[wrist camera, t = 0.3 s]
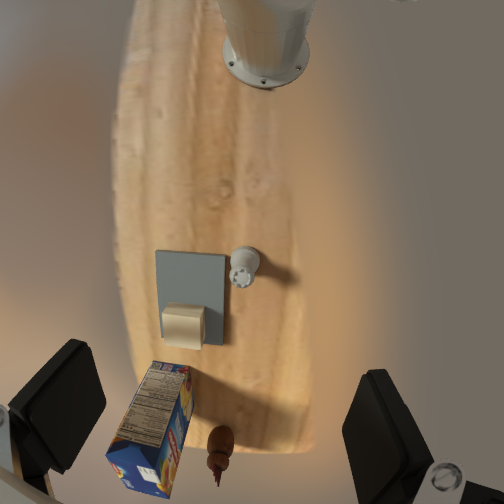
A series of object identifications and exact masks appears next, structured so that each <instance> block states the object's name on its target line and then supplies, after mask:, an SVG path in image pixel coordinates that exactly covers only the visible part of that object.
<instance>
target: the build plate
mask: <svg viewBox="0 0 504 504" xmlns="http://www.w3.org/2000/svg"><path fill="white" fill-rule="evenodd" d="M155 255H156V276H157V292H158V305H159V317H160V327H161V337H162V338H164V332H163V321H162V312H163V311H164V309H165V308H166V306H167V305H168V303H169V302H175V303H183V304H193V305H202V306H205V339H204V342H203V343H204V344H213V345H223V334H224V294H225V264H226V255H223V254H210V253H196V252H183V251H170V250H156V251H155Z"/></svg>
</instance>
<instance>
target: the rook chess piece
mask: <svg viewBox="0 0 504 504" xmlns="http://www.w3.org/2000/svg"><path fill="white" fill-rule="evenodd" d="M230 263H231V267H232V270H231V271H230V275H229V277H230V281H231V282H232V283H233V285H235V286H236V287H240V288H245V287H248V286H250V285H251V284H252V283H253V281H254V278H255V275H254V273H255V272H256V270H257V269H258V267H259V263H260V257H259V254H258V253H257V251H256V250H255V249H253V248H252V247H248V246H242V247H238V248H237V249H235V250H234V252H233V253H232V254H231V259H230Z"/></svg>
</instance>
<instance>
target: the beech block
mask: <svg viewBox="0 0 504 504" xmlns="http://www.w3.org/2000/svg"><path fill="white" fill-rule="evenodd" d="M162 321H163V332H164V341H165V345H167V346H174V347H181V348H188V349H196V350H201V348H202V345H203V342H204V339H205V306H202V305H193V304H183V303H175V302H169V303H168V305H167V306H166V308H165V309H164V311H163V312H162Z"/></svg>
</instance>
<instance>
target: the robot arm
mask: <svg viewBox="0 0 504 504" xmlns="http://www.w3.org/2000/svg"><path fill="white" fill-rule="evenodd" d="M217 1H218V4H219V7H220V10H221V14H222V17H223V20H224V24H225V27H226V30H227V34H228V35H227V37H226V39H225V41H224V45H223V58H224V62H225V64H226V67H227V68H228V70H229V71H230V73H231V74H232V75H233V76H234V77H235V78H237V79H238V80H240V81H241V82H243V83H245V84H247V85H250V86H253V87H257V88H276V87H280V86H284V85H286V84H289V83H291V82H292V81H294V80H295V79H297V78H298V77H299V76H300V75H301V74H302V72H303V71H304V70H305V68H306V66H307V64H308V60H309V46H308V43H307V41H306V39H305V34H306V32H307V29H308V25H309V22H310V19H311V16H312V13H313V10H314V7H315V3H316V0H217ZM391 1H396V2H414V1H417V0H391ZM231 65H234V66H231ZM296 69H299V71H298V70H296ZM263 82H265V83H266V84H262V83H263ZM8 406H9V407H10V410H9V411H7V409H6V408H5V407H4V406H3V405H0V504H63V503H61V502H59V501H57V500H55V496H54V493H53V490H52V486H51V483H50V479H49V475H48V470H49V469H50V468H51V469H53V470H55V471H56V472H59V473H60V474H62V475H63V474H64V472H65V470H68V469H70V467H71V466H72V464H73V462H74V461H75V459H76V457H77V455H78V453H79V452H80V450H81V448H82V446H83V445H84V443H85V441H86V439H87V438H88V436H89V434H90V433H91V431H92V429H93V427H94V426H95V424H96V422H97V421H98V419H99V417H100V416H101V414H102V412H103V411H104V409H105V406H106V398H105V395H104V392H103V389H102V386H101V383H100V379H99V376H98V373H97V369H96V366H95V362H94V359H93V355H92V351H91V349H90V347H88V345H87V343H86V342H84V341H79V340H76V339H70V340H69V341H68V342H67V343H66V344H65V345H64V346H63V347H62V348H61V349H60V350H59V351H58V352H57V353H56V354H55V355H54V356H53V357H52V358H51V359H50V360H49V361H48V362H47V363H46V364H45V365H44V366H43V367H42V368H41V369H40V370H39V371H38V372H37V373H36V374H35V375H34V377H32V379H31V380H30V381H29V382H28V383H27V384H26V385H25V386H24V387H23V388H22V389H21V390H20V391H19V393H18V394H17V395H16V396H15V397H14V398H13V399H12V401H10V403H9V404H8ZM342 434H343V438H344V442H345V446H346V450H347V454H348V459H349V463H350V467H351V471H352V476H353V480H354V484H355V489H356V493H357V497H358V502H359V504H504V493H503V492H501V491H499V490H495V489H492V488H488V487H485V486H482V485H479V484H476V483H473V482H470V481H467V480H466V472H465V470H464V468H463V467H462V466H461V465H460V464H459V463H458V462H456V461H454V460H451V459H441V460H438V461H436V462H434V460H433V457H432V455H431V453H430V451H429V449H428V447H427V445H426V443H425V441H424V438H423V436H422V435H421V432H420V431H419V428H418V426H417V424H416V422H415V421H414V419H413V417H412V415H411V413H410V411H409V409H408V407H407V406H406V404H404V402H403V400H402V398H401V396H400V394H399V392H398V391H397V389H396V387H395V385H394V383H393V381H392V380H391V378H390V376H389V374H388V372H387V371H386V370H385V369H375V370H368V372H367V373H366V374H363V375H362V377H361V380H360V383H359V385H358V388H357V391H356V394H355V396H354V399H353V402H352V404H351V407H350V409H349V412H348V414H347V416H346V419H345V421H344V423H343V427H342Z"/></svg>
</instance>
